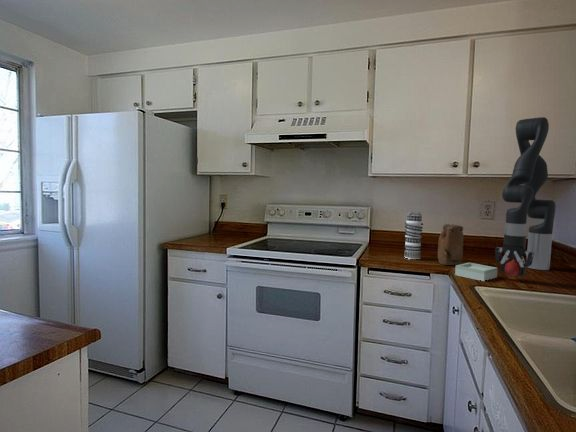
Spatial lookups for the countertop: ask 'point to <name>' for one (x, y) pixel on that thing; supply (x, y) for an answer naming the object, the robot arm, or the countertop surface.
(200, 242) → the countertop surface
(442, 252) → the block
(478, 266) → the stand
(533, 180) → the robot arm
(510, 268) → the onion
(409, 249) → the white grey cylinder
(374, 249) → the countertop surface
